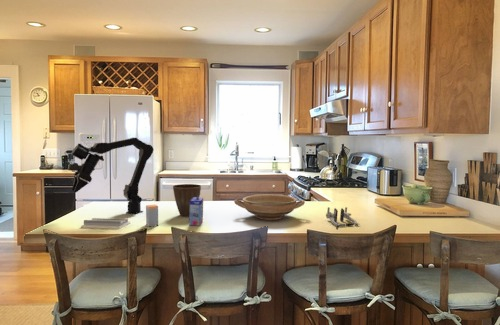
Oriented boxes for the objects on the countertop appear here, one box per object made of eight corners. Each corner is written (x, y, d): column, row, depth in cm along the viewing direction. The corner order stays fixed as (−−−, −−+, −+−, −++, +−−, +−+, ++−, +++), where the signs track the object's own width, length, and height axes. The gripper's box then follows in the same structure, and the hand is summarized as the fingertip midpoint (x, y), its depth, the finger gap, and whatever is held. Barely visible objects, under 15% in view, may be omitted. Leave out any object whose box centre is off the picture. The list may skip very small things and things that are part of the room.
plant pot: (206, 215, 198) (206, 185, 197) (184, 219, 187) (184, 188, 186) (189, 211, 208) (189, 183, 207) (167, 215, 197) (167, 185, 196)
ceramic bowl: (231, 223, 180) (231, 202, 179) (237, 211, 208) (237, 193, 207) (306, 224, 177) (307, 203, 177) (302, 212, 206) (302, 194, 205)
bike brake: (322, 218, 187) (336, 234, 168) (323, 205, 186) (337, 220, 166) (347, 218, 189) (364, 233, 170) (349, 205, 188) (366, 220, 168)
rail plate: (94, 222, 181) (93, 216, 181) (130, 223, 178) (130, 217, 178) (80, 227, 170) (80, 221, 170) (119, 228, 167) (119, 222, 167)
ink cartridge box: (200, 226, 173) (200, 195, 172) (189, 226, 173) (188, 195, 172) (203, 221, 183) (203, 192, 182) (192, 221, 183) (192, 192, 182)
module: (146, 224, 176) (145, 205, 175) (155, 223, 178) (155, 204, 177) (148, 226, 172) (148, 206, 171) (158, 225, 174) (158, 205, 173)
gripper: (72, 156, 192) (56, 182, 188) (77, 156, 177) (59, 185, 173) (92, 166, 198) (76, 192, 194) (98, 167, 182) (82, 195, 178)
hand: (73, 191), depth 184 cm, fingers open, 9 cm apart
